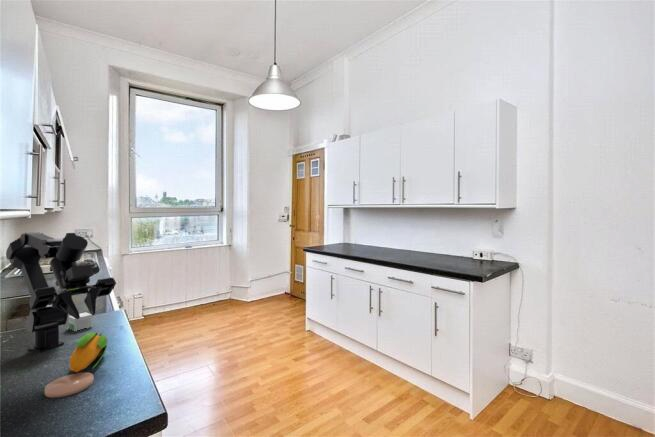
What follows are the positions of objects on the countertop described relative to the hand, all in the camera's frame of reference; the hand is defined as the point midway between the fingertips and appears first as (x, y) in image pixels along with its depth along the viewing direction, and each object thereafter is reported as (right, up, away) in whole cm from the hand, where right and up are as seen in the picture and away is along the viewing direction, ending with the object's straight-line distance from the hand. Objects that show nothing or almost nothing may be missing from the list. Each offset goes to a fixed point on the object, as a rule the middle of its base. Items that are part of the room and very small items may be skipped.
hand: (86, 316), depth 85 cm
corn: (0, -14, +1) cm, 14 cm away
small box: (-25, -14, +29) cm, 41 cm away
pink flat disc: (+4, -14, -11) cm, 18 cm away
